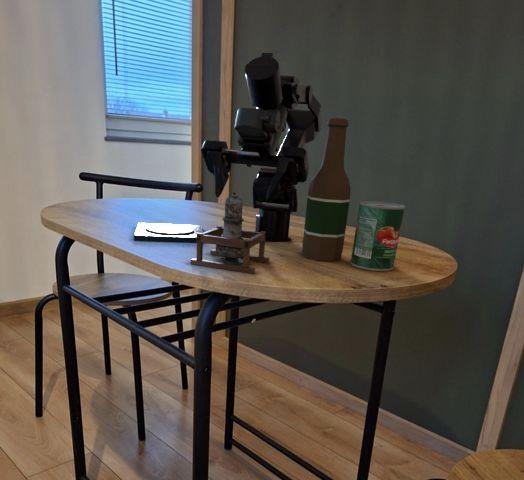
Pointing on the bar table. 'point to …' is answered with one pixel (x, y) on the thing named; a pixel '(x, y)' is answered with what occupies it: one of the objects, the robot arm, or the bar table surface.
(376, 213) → the canned tomato
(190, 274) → the bar table surface
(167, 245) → the bar table surface
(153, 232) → the plate
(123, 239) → the bar table surface
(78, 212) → the bar table surface
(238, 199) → the salt shaker
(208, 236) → the brown wooden stand
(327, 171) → the beer bottle
